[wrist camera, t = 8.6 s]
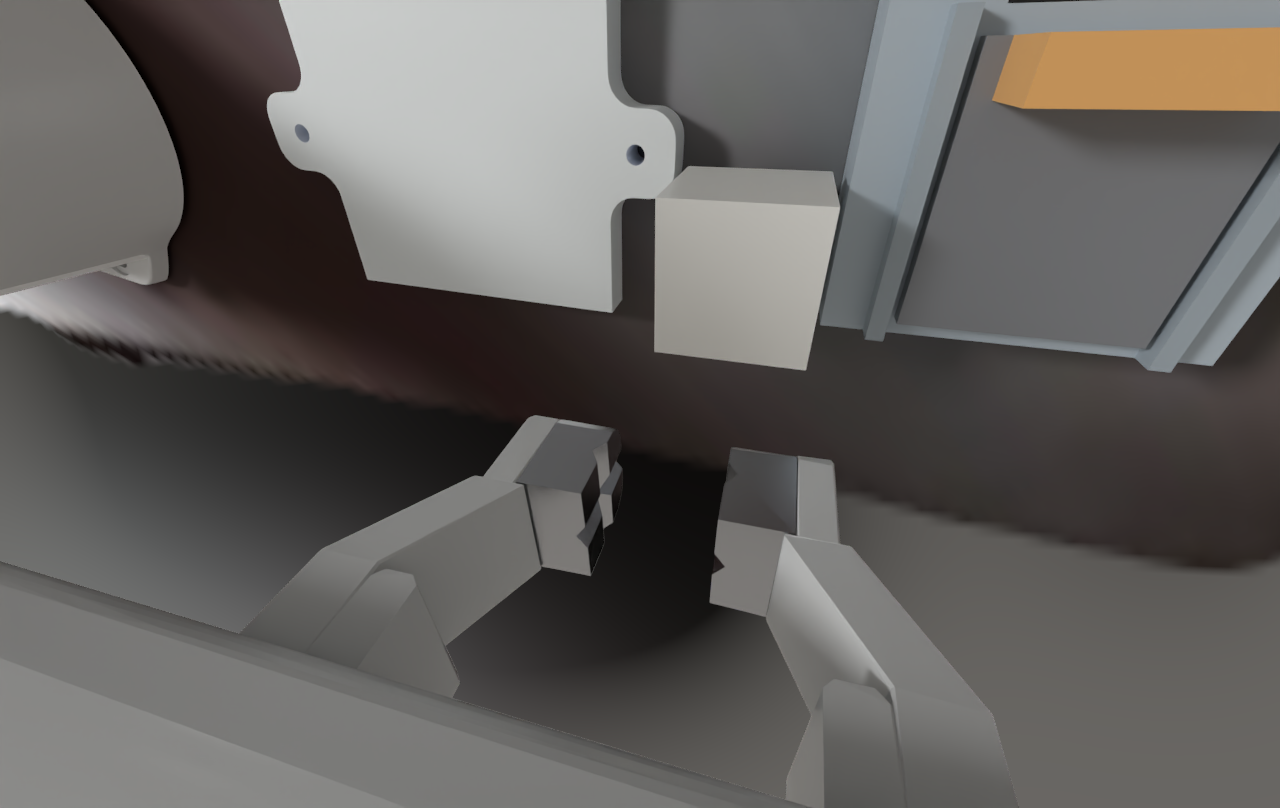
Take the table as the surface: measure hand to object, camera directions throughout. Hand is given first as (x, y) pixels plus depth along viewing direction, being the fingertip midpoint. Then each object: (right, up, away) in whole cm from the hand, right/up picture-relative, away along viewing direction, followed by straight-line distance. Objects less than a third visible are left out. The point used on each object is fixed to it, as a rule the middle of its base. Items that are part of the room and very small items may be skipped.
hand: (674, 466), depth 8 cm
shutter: (+12, +7, +6) cm, 15 cm away
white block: (+4, +8, +12) cm, 15 cm away
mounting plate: (-7, +13, +13) cm, 20 cm away
